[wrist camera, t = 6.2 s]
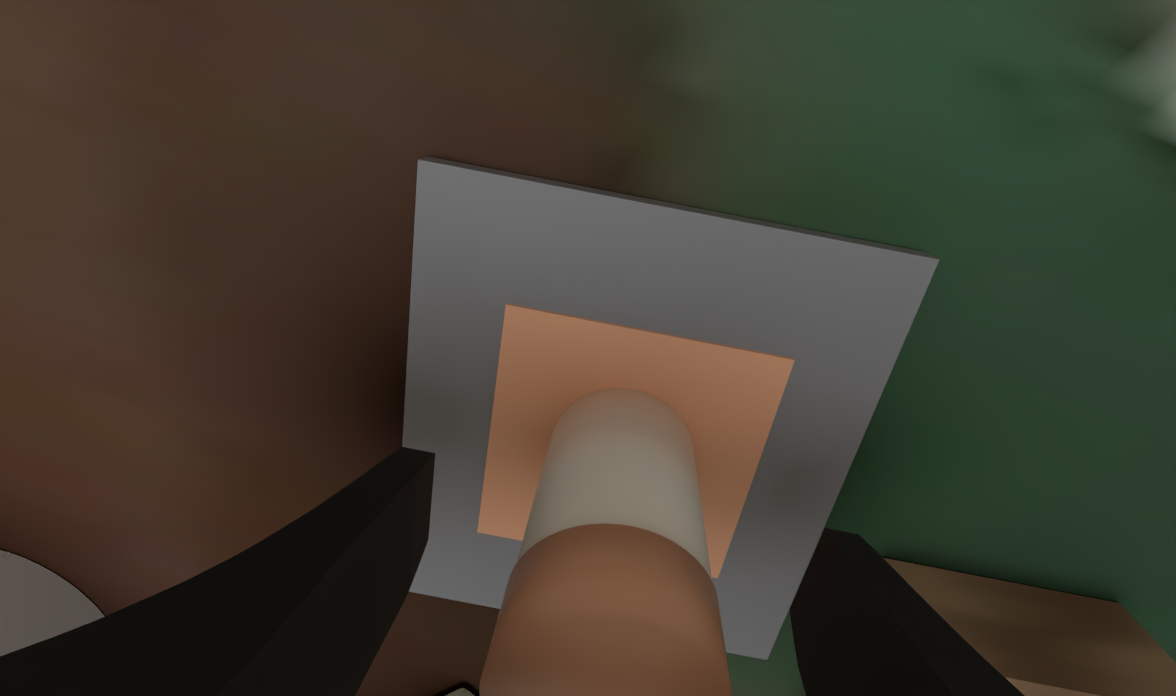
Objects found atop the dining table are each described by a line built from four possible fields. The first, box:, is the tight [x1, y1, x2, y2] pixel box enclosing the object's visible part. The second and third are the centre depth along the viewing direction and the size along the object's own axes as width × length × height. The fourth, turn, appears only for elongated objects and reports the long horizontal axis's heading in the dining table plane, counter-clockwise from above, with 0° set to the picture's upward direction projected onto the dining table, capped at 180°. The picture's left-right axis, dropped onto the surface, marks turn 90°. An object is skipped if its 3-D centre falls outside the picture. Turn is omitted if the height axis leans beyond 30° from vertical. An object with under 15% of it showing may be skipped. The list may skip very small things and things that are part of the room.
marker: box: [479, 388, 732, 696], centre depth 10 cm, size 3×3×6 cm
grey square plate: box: [402, 156, 939, 660], centre depth 13 cm, size 10×11×1 cm
